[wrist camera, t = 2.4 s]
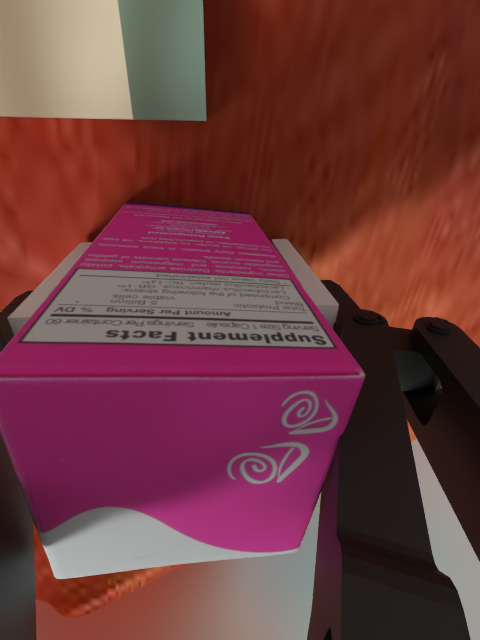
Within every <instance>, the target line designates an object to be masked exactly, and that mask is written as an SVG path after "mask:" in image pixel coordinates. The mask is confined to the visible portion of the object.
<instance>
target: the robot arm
mask: <svg viewBox="0 0 480 640" xmlns="http://www.w3.org/2000/svg"><path fill="white" fill-rule="evenodd" d="M91 244H92V242H83V243H80V244H79V245H78V246H77V247H76V248H75V249H74V250H73V251H72V252H71V253H70V254H69V255H68V256H67V257H66V258H65V259H64V260H63V261H62V262H61V263H60V264H59V265H58V266H57V267H56V268H55V269H54V270H53V272H52V273H51V274H50V275H49V276H48V277H47V278H46V279H45V280H44V281H43V282H42V283H41V284H40V285H39V286H38V287H37V288H36V289H35V290H34V291H27V292H25V293H23V294H21V295H19V296H18V297H16V298H15V299H14V300H13V301H12V302H11V303H10V304H9V306H6V307H5V308H4V309H3V310H2V312H0V352H1V351H2V350H3V349H4V348H5V346H6V345H7V344H8V343H9V342H10V341H11V339H12V338H13V337H14V336H15V335H16V333H17V332H18V331H19V330H20V329H21V327H22V326H23V325H24V324H25V323H26V322H27V320H28V319H29V318H30V317H31V316H32V315H33V313H34V312H35V311H36V310H37V309H38V308H39V306H40V305H41V304H42V303H43V302H44V301H45V299H46V298H47V297H48V295H49V294H50V293H51V292H52V290H53V289H54V288H55V287H56V286H57V285H58V284H59V282H60V281H61V280H62V279H63V277H64V276H65V275H66V274H67V273H68V271H69V270H70V269H71V268H72V267H73V265H74V264H75V263H76V262H77V260H78V259H79V258H80V257H81V255H82V254H83V253H84V252H85V251H86V250H87V248H88V247H89V246H90V245H91ZM271 244H272V245H273V247H274V248H275V249H276V251H277V252H278V254H279V255H280V256H281V258H282V259H283V261H284V262H285V263H286V265H287V266H288V268H289V269H290V270H291V271H292V273H293V274H294V276H295V277H296V278H297V280H298V281H299V282H300V283H301V285H302V287H303V289H304V290H305V291H306V293H307V294H308V295H309V297H310V298H311V299H312V301H313V302H314V303H315V305H316V306H317V308H318V309H319V310H320V312H321V313H322V315H323V316H324V317H325V319H326V320H327V322H328V323H329V324H330V326H331V327H332V329H333V330H334V331H335V333H336V334H337V336H338V337H339V338H340V340H341V341H342V343H343V344H344V345H345V347H346V348H347V349H348V351H349V352H350V354H351V355H352V356H353V358H354V359H355V360H356V362H357V363H358V364H359V366H360V367H361V369H362V370H363V372H364V374H365V378H364V381H363V384H362V387H361V390H360V392H359V395H358V397H357V400H356V402H355V405H354V407H353V410H352V413H351V415H350V418H349V420H348V423H347V425H346V428H345V430H344V433H343V434H342V435H340V436H339V440H338V443H337V447H336V451H335V454H334V458H333V461H332V463H331V466H330V469H329V471H328V474H327V477H326V480H325V482H324V485H323V487H322V490H321V502H320V515H319V527H318V540H317V552H316V565H315V577H314V590H313V601H312V610H311V618H310V624H309V630H308V637H307V640H470V636H469V631H468V627H467V623H466V618H465V614H464V610H463V607H462V604H461V601H460V598H459V594H458V591H457V589H456V587H455V586H454V584H453V582H452V580H451V579H450V578H449V577H448V576H446V575H445V574H443V573H442V572H440V571H439V570H438V568H437V567H436V565H435V562H434V559H433V555H432V550H431V545H430V540H429V535H428V530H427V524H426V519H425V514H424V508H423V503H422V498H421V493H420V488H419V482H418V478H417V472H416V467H415V461H414V456H413V451H412V446H411V440H410V435H409V430H408V425H407V420H408V422H409V424H410V426H411V428H412V430H413V432H414V434H415V436H416V437H417V439H418V441H419V443H420V445H421V447H422V449H423V451H424V453H425V455H426V457H427V459H428V461H429V463H430V465H431V466H432V469H433V471H434V473H435V475H436V477H437V479H438V481H439V483H440V485H441V487H442V489H443V491H444V492H445V494H446V496H447V498H448V500H449V502H450V504H451V506H452V508H453V510H454V512H455V514H456V516H457V518H458V520H459V522H460V524H461V525H462V528H463V530H464V531H465V534H466V536H467V538H468V540H469V542H470V543H471V545H472V547H473V549H474V551H475V553H476V555H477V557H478V559H479V561H480V348H479V347H478V346H477V345H476V344H475V343H474V342H473V341H472V340H471V339H470V338H469V337H468V336H467V335H466V334H465V333H464V332H463V331H462V330H461V329H460V328H459V327H457V326H456V325H455V324H452V323H450V322H448V321H447V320H444V319H441V318H437V317H435V318H432V317H422V318H419V319H416V321H415V323H414V326H413V329H412V330H410V329H402V328H394V327H389V326H388V322H387V320H386V318H384V317H383V316H382V315H380V314H378V313H375V312H373V311H369V310H364V309H360V308H359V307H358V306H357V304H356V303H355V302H354V301H353V300H352V299H351V298H349V295H348V294H347V293H345V291H344V290H343V289H342V288H341V286H340V285H338V284H336V283H334V282H333V281H331V280H319V278H318V277H317V276H316V275H315V273H314V272H313V271H312V270H311V268H310V267H309V266H308V265H307V263H306V262H305V261H304V260H303V258H302V257H301V256H300V255H299V253H298V252H297V251H296V249H295V248H294V247H293V246H292V244H291V243H290V242H289V241H288V239H271ZM440 387H442V389H441V388H440ZM406 418H407V420H406ZM0 640H36V606H35V566H34V527H33V517H32V515H31V512H30V509H29V506H28V504H27V501H26V499H25V497H24V494H23V492H22V489H21V487H20V484H19V482H18V479H17V476H16V473H15V470H14V468H13V465H12V462H11V459H10V457H9V454H8V451H7V449H6V446H5V444H4V441H3V439H2V436H1V433H0Z"/></svg>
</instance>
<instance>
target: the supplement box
mask: <svg viewBox="0 0 480 640" xmlns="http://www.w3.org/2000/svg"><path fill="white" fill-rule="evenodd" d="M364 378H365V374H364V372H363V370H362V369H361V367H360V366H359V364H358V363H357V362H356V360H355V359H354V358H353V356H352V355H351V354H350V352H349V351H348V349H347V348H346V347H345V345H344V344H343V343H342V341H341V340H340V338H339V337H338V336H337V334H336V333H335V331H334V330H333V329H332V327H331V326H330V324H329V323H328V322H327V320H326V319H325V317H324V316H323V315H322V313H321V312H320V310H319V309H318V308H317V306H316V305H315V303H314V302H313V301H312V299H311V298H310V297H309V295H308V294H307V293H306V291H305V290H304V289H303V287H302V285H301V283H300V282H299V281H298V280H297V278H296V277H295V276H294V274H293V273H292V271H291V270H290V269H289V268H288V266H287V265H286V263H285V262H284V261H283V259H282V258H281V256H280V255H279V254H278V252H277V251H276V249H275V248H274V247H273V245H272V244H271V242H270V241H269V240H268V238H267V237H266V235H265V234H264V233H263V231H262V230H261V228H260V227H259V226H258V224H257V223H256V221H255V220H254V219H253V217H252V216H251V214H249V213H242V212H231V211H219V210H209V209H198V208H188V207H177V206H166V205H154V204H141V203H124V204H123V206H122V207H121V208H120V209H119V211H118V212H117V213H116V214H115V216H114V217H113V218H112V219H111V221H110V222H109V223H108V224H107V225H106V227H105V228H104V229H103V230H102V231H101V233H100V234H99V235H98V236H97V237H96V239H95V240H94V241H93V242H92V244H91V245H90V246H89V247H88V248H87V250H86V251H85V252H84V253H83V254H82V255H81V257H80V258H79V259H78V260H77V262H76V263H75V264H74V265H73V267H72V268H71V269H70V270H69V271H68V273H67V274H66V275H65V276H64V277H63V279H62V280H61V281H60V282H59V284H58V285H57V286H56V287H55V288H54V289H53V290H52V292H51V293H50V294H49V295H48V297H47V298H46V299H45V301H44V302H43V303H42V304H41V305H40V306H39V308H38V309H37V310H36V311H35V312H34V313H33V315H32V316H31V317H30V318H29V319H28V320H27V322H26V323H25V324H24V325H23V326H22V327H21V329H20V330H19V331H18V332H17V333H16V335H15V336H14V337H13V338H12V339H11V341H10V342H9V343H8V344H7V345H6V346H5V348H4V349H3V350H2V351H1V352H0V433H1V436H2V439H3V441H4V444H5V446H6V449H7V451H8V454H9V457H10V459H11V462H12V465H13V468H14V470H15V473H16V476H17V479H18V482H19V484H20V487H21V489H22V492H23V494H24V497H25V499H26V501H27V504H28V506H29V509H30V512H31V515H32V517H33V520H34V523H35V526H36V529H37V531H38V534H39V537H40V539H41V542H42V544H43V547H44V549H45V552H46V554H47V556H48V559H49V562H50V565H51V568H52V571H53V574H54V577H56V578H57V579H66V578H75V577H83V576H91V575H98V574H106V573H114V572H122V571H129V570H136V569H143V568H151V567H159V566H168V565H176V564H185V563H195V562H205V561H215V560H227V559H238V558H249V557H259V556H270V555H279V554H286V553H294V552H297V551H298V550H299V548H300V545H301V541H302V539H303V537H304V534H305V532H306V529H307V526H308V524H309V521H310V519H311V516H312V513H313V511H314V508H315V506H316V503H317V500H318V498H319V495H320V493H321V490H322V487H323V485H324V482H325V480H326V477H327V474H328V471H329V469H330V466H331V463H332V461H333V458H334V454H335V451H336V447H337V443H338V440H339V436H340V435H342V434H343V433H344V430H345V428H346V425H347V423H348V420H349V418H350V415H351V413H352V410H353V407H354V405H355V402H356V400H357V397H358V395H359V392H360V390H361V387H362V384H363V381H364Z"/></svg>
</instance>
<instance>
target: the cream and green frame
mask: <svg viewBox="0 0 480 640" xmlns="http://www.w3.org/2000/svg"><path fill="white" fill-rule="evenodd" d="M0 117H42V118H86V119H131V120H175V121H207V120H206V87H205V54H204V21H203V0H0Z"/></svg>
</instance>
